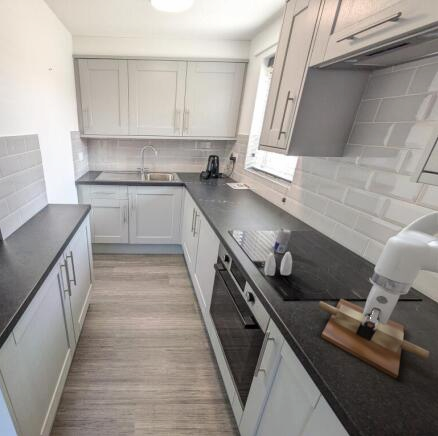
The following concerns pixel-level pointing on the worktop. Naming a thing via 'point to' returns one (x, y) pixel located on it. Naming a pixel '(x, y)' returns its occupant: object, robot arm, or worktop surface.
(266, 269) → the shaker set
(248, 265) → the worktop surface
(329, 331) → the pastry board
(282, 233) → the energy drink
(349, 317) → the rolling pin
